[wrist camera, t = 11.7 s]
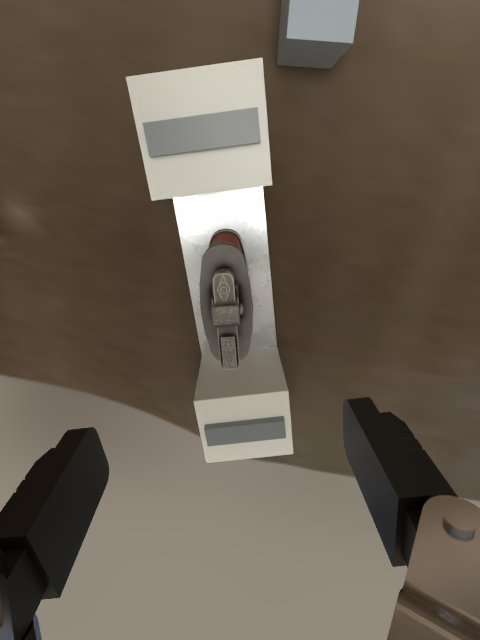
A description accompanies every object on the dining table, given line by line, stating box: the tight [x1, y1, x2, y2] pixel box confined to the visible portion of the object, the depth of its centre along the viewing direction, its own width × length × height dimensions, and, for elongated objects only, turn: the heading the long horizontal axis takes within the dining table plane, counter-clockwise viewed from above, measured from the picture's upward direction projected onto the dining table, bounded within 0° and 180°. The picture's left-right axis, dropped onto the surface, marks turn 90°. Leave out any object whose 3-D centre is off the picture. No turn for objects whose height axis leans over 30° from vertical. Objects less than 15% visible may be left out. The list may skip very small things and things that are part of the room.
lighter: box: [199, 229, 253, 370], centre depth 24 cm, size 8×3×10 cm, turn 4°
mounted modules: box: [126, 58, 293, 463], centre depth 25 cm, size 7×26×8 cm, turn 7°
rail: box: [173, 186, 277, 356], centre depth 29 cm, size 7×28×2 cm, turn 7°
